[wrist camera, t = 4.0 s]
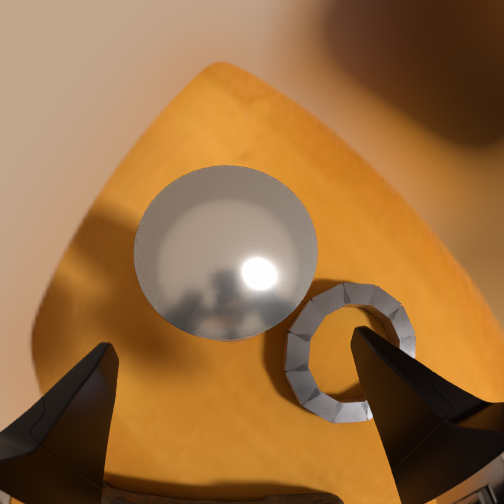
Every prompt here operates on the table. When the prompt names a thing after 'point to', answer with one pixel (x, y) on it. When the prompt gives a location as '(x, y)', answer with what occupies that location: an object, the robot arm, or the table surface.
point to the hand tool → (117, 500)
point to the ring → (308, 323)
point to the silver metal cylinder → (225, 253)
